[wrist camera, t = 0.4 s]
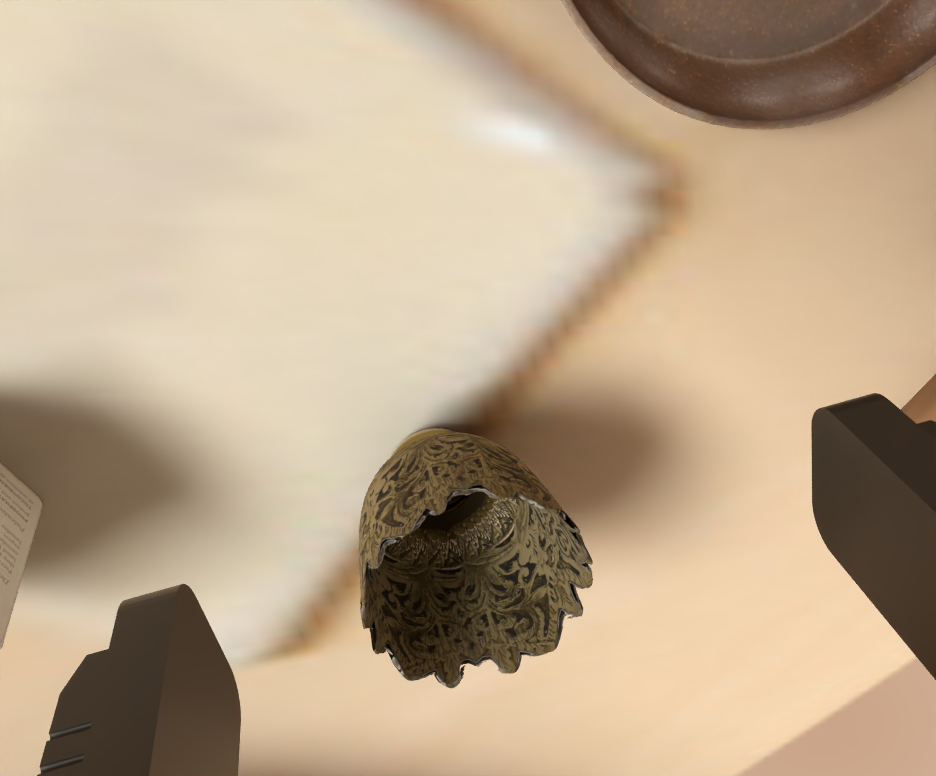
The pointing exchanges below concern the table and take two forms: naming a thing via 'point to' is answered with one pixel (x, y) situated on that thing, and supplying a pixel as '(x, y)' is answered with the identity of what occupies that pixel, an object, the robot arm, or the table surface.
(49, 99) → the table surface
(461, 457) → the cup
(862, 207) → the table surface
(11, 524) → the product box
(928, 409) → the brown wooden bar
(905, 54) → the plant saucer
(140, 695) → the robot arm
